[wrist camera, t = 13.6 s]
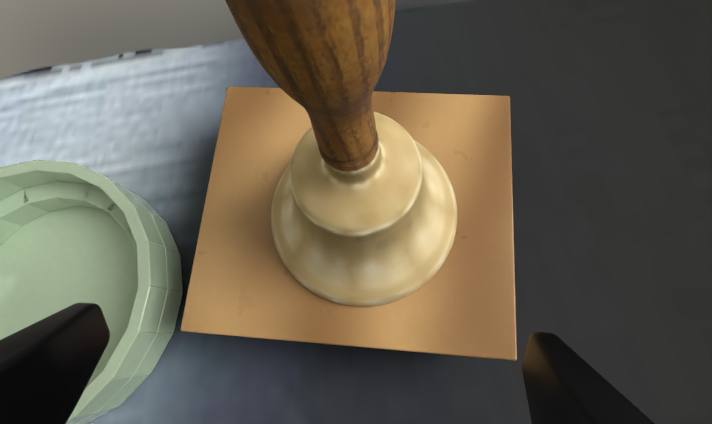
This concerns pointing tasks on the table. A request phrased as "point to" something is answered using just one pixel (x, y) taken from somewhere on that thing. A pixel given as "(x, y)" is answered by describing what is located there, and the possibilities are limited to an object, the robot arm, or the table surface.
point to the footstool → (342, 322)
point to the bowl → (88, 269)
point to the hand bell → (348, 156)
